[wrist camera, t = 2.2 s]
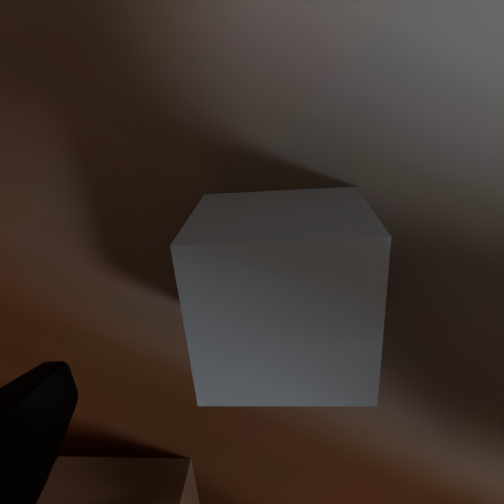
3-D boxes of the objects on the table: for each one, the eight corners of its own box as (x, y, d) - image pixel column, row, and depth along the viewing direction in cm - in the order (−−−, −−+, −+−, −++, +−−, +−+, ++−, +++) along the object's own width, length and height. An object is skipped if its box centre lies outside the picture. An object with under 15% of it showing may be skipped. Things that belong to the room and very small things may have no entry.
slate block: (356, 185, 11) (391, 236, 8) (350, 314, 13) (377, 406, 9) (204, 193, 12) (169, 245, 8) (220, 317, 13) (197, 405, 10)
